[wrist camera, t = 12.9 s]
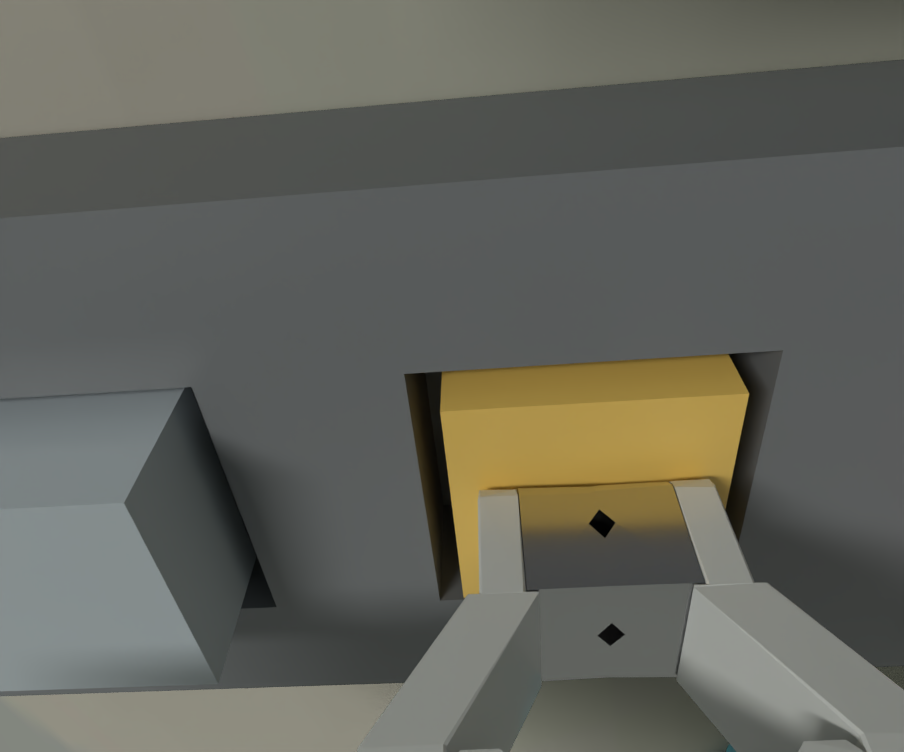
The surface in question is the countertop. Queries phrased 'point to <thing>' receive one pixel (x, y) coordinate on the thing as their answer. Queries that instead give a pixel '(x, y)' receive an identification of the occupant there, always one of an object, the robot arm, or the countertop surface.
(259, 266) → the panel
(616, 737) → the countertop surface
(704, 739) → the countertop surface
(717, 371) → the button one
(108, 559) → the button none
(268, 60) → the countertop surface
